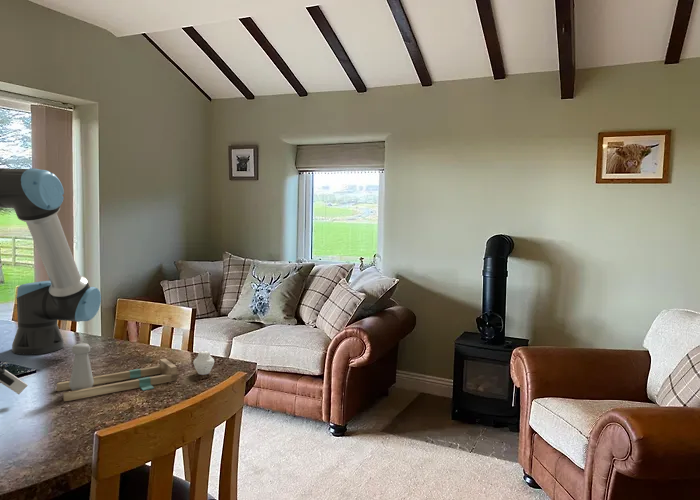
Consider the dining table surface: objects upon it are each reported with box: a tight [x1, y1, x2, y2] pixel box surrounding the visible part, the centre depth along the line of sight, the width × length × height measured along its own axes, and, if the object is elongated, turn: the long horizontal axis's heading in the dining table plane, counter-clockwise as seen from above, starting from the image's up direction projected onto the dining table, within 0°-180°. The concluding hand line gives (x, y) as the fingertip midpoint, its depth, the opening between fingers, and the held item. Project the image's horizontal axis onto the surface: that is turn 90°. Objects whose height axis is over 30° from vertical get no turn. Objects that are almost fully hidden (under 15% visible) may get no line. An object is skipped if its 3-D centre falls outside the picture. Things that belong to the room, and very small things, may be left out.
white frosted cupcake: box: [192, 350, 215, 376], centre depth 157 cm, size 6×6×7 cm
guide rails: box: [56, 358, 178, 402], centre depth 145 cm, size 16×29×4 cm, turn 129°
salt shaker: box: [69, 342, 94, 391], centre depth 138 cm, size 6×6×13 cm
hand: (22, 389), depth 130 cm, fingers closed
